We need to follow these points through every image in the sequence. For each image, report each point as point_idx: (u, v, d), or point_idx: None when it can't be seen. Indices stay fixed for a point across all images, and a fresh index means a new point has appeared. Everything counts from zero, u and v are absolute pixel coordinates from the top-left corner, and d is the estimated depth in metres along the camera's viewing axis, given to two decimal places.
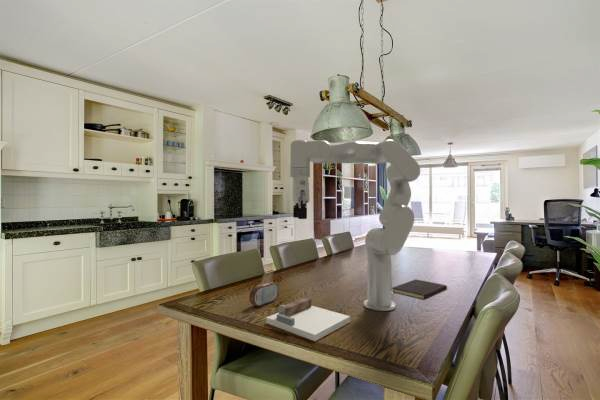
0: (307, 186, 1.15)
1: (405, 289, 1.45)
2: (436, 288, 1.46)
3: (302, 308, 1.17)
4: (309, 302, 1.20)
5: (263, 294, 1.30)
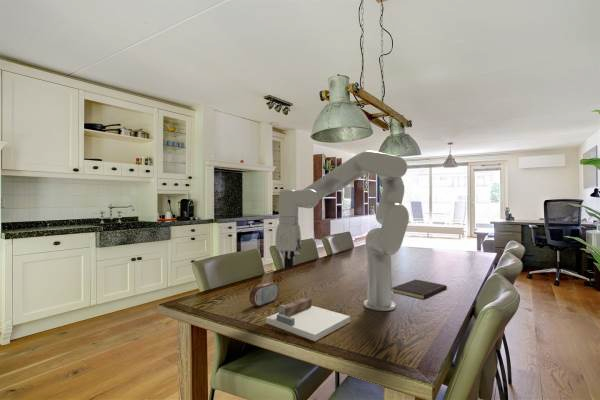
0: None
1: (405, 289, 1.45)
2: (436, 288, 1.46)
3: (302, 308, 1.17)
4: (309, 302, 1.20)
5: (263, 294, 1.30)
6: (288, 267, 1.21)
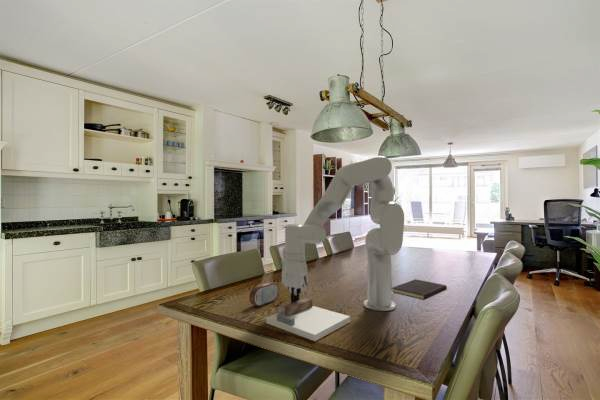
0: None
1: (405, 289, 1.45)
2: (436, 288, 1.46)
3: (303, 308, 1.17)
4: (310, 302, 1.20)
5: (263, 294, 1.30)
6: None
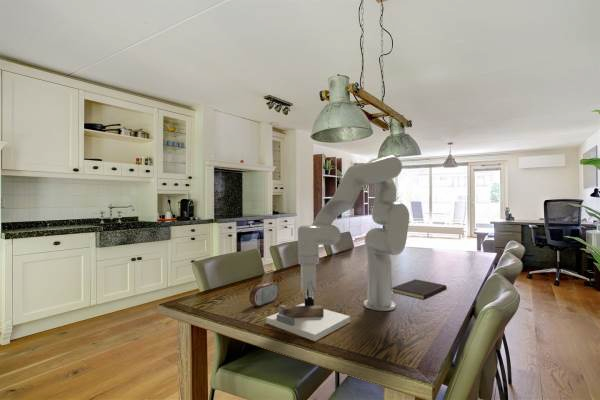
0: None
1: (405, 289, 1.45)
2: (436, 288, 1.47)
3: (308, 315, 1.10)
4: (320, 311, 1.10)
5: (263, 294, 1.30)
6: None
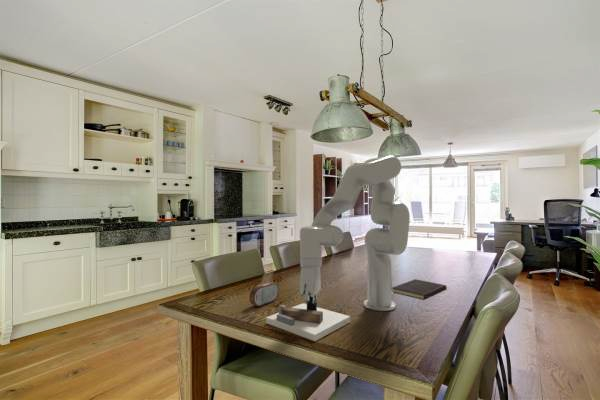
0: None
1: (405, 289, 1.45)
2: (436, 288, 1.47)
3: (305, 319, 1.06)
4: (316, 317, 1.05)
5: (263, 294, 1.30)
6: None
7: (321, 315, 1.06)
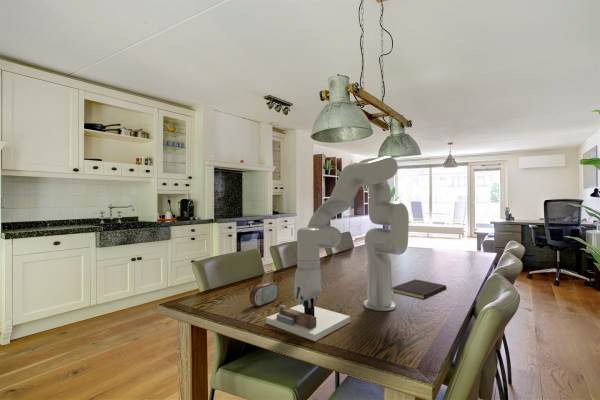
0: None
1: (405, 289, 1.45)
2: (436, 288, 1.47)
3: (298, 322, 1.04)
4: (307, 321, 1.01)
5: (263, 294, 1.30)
6: None
7: (313, 320, 1.01)
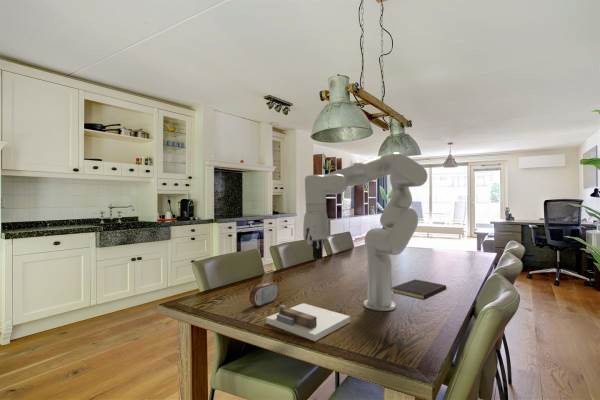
0: None
1: (405, 289, 1.45)
2: (436, 288, 1.47)
3: (298, 322, 1.04)
4: (307, 321, 1.01)
5: (263, 294, 1.30)
6: (314, 257, 1.15)
7: (313, 320, 1.01)
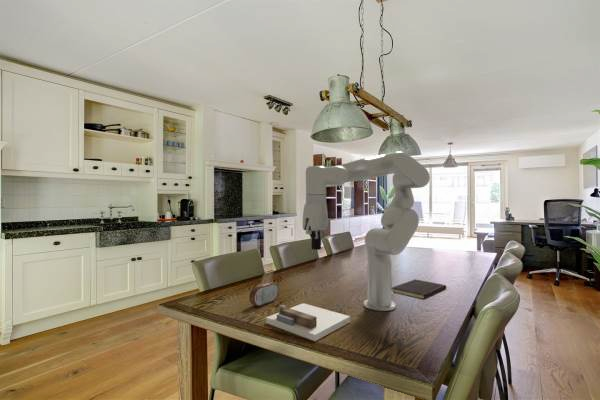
0: None
1: (405, 289, 1.45)
2: (436, 288, 1.47)
3: (298, 322, 1.04)
4: (307, 321, 1.01)
5: (263, 294, 1.30)
6: (313, 247, 1.16)
7: (313, 320, 1.01)
